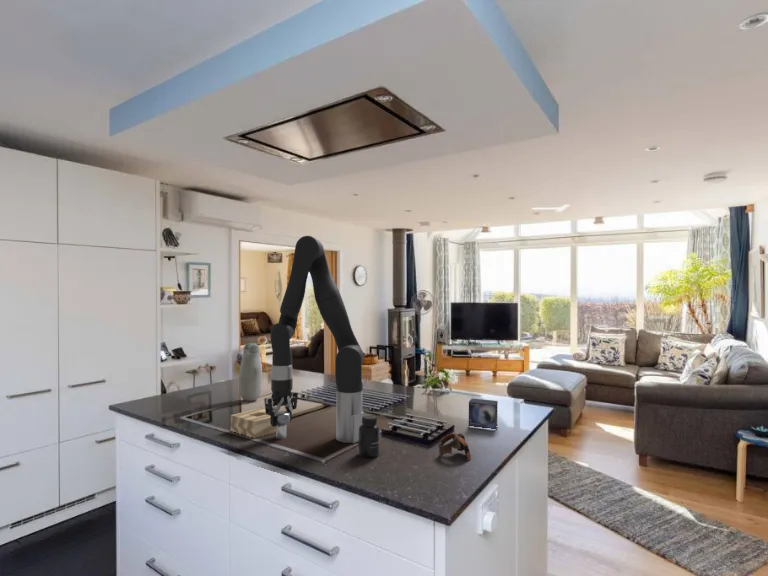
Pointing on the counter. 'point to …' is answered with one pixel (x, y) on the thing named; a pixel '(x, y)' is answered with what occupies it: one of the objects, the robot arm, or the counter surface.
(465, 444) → the brown curved band
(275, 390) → the robot arm
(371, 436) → the supplement bottle
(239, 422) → the oak block
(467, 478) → the counter surface
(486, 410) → the small box
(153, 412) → the counter surface
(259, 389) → the grey bottle
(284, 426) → the steel pin
